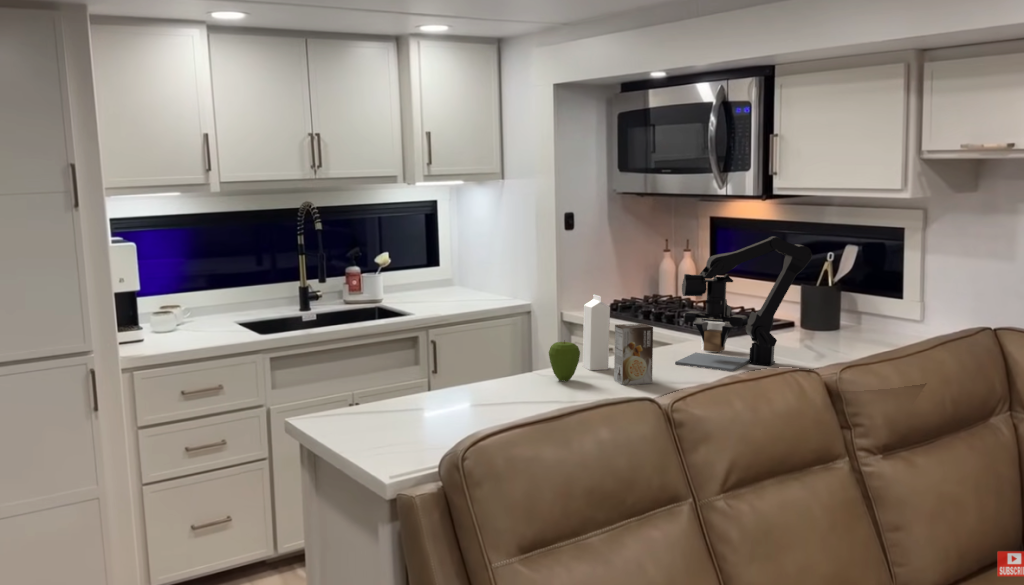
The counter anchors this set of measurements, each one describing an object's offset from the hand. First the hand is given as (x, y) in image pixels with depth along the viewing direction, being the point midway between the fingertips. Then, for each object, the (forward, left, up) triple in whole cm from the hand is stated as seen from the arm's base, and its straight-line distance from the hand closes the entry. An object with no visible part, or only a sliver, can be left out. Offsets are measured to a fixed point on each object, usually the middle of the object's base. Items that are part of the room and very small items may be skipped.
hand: (714, 346), depth 272 cm
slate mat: (0, 0, -5) cm, 5 cm away
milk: (+27, +28, -6) cm, 39 cm away
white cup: (+7, -19, -6) cm, 21 cm away
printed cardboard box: (+10, +39, -6) cm, 41 cm away
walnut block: (0, 0, -1) cm, 1 cm away
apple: (+27, +48, -6) cm, 55 cm away
